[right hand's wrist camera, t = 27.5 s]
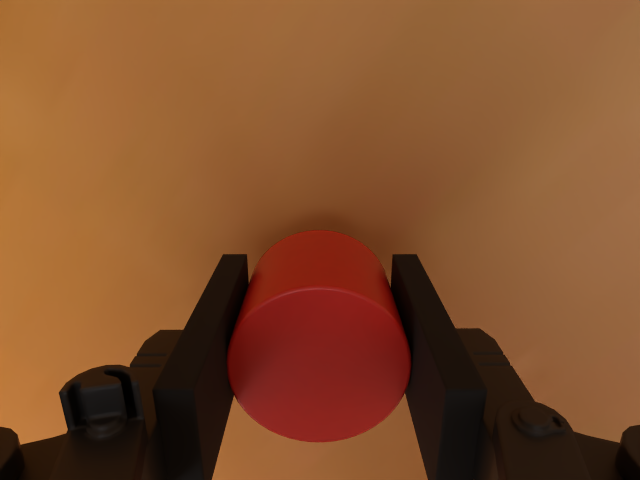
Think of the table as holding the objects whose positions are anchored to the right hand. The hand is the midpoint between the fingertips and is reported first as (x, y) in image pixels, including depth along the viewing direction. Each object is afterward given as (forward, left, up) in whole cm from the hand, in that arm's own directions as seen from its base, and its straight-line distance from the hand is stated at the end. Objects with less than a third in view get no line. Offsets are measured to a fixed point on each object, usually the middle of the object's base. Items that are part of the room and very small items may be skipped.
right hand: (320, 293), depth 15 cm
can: (0, 0, 0) cm, 0 cm away
